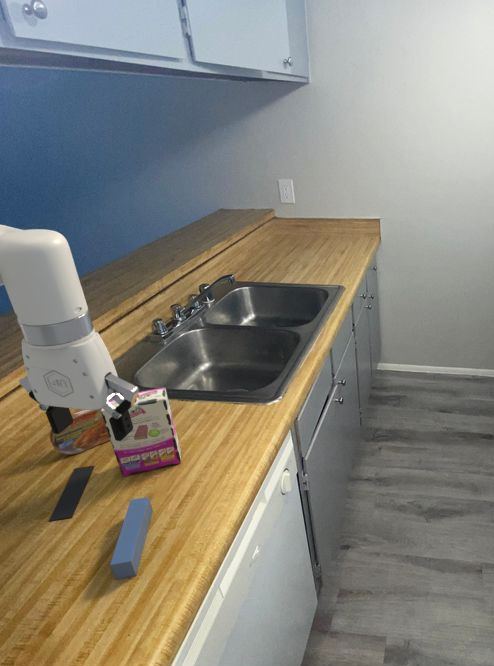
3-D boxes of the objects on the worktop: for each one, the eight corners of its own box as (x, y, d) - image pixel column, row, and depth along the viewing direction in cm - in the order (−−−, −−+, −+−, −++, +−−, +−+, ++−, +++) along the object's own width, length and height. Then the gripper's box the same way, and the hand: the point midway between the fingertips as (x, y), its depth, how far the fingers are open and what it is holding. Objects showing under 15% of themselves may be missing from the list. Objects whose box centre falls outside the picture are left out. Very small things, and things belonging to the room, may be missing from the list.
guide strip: (48, 521, 85) (48, 520, 85) (74, 469, 97) (74, 468, 96) (71, 517, 86) (71, 517, 85) (94, 466, 97) (94, 465, 97)
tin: (59, 461, 98) (46, 429, 94) (54, 454, 100) (42, 422, 96) (135, 430, 108) (126, 399, 104) (130, 424, 110) (121, 394, 106)
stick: (115, 579, 75) (109, 565, 73) (135, 513, 87) (130, 499, 85) (136, 575, 76) (131, 561, 74) (152, 510, 88) (148, 496, 86)
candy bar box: (181, 449, 103) (166, 385, 95) (181, 463, 99) (166, 398, 91) (123, 462, 99) (102, 396, 91) (121, 477, 95) (99, 410, 87)
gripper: (-28, 333, 59) (19, 441, 67) (99, 345, 58) (132, 454, 66) (22, 310, 66) (60, 411, 74) (138, 320, 64) (164, 422, 72)
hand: (94, 431), depth 70 cm, fingers open, 9 cm apart
